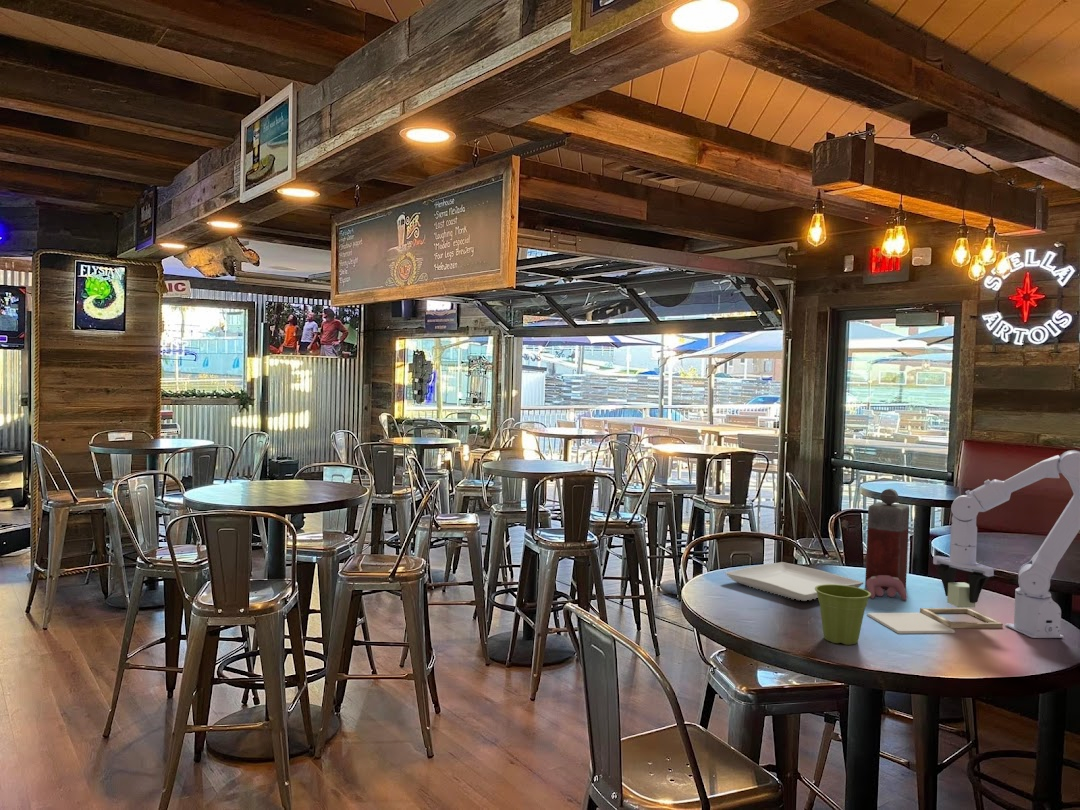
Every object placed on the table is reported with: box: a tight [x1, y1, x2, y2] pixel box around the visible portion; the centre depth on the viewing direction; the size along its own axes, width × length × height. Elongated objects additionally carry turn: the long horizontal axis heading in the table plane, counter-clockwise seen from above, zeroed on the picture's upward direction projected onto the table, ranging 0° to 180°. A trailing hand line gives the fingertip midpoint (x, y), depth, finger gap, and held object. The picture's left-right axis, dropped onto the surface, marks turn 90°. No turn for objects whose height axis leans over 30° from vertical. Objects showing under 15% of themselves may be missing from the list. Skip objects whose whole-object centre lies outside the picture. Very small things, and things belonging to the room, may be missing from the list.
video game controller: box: [865, 575, 908, 602], centre depth 215 cm, size 10×5×7 cm, turn 85°
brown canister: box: [864, 488, 910, 591], centre depth 227 cm, size 9×11×28 cm
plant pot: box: [815, 584, 871, 646], centre depth 178 cm, size 12×12×11 cm
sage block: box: [946, 581, 976, 608], centre depth 196 cm, size 4×4×5 cm
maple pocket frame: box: [919, 607, 1004, 629], centre depth 196 cm, size 13×13×1 cm
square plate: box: [725, 561, 864, 602], centre depth 223 cm, size 27×27×4 cm
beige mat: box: [866, 612, 956, 635], centre depth 191 cm, size 14×14×1 cm
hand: (961, 598), depth 196 cm, fingers closed on sage block, 6 cm apart
